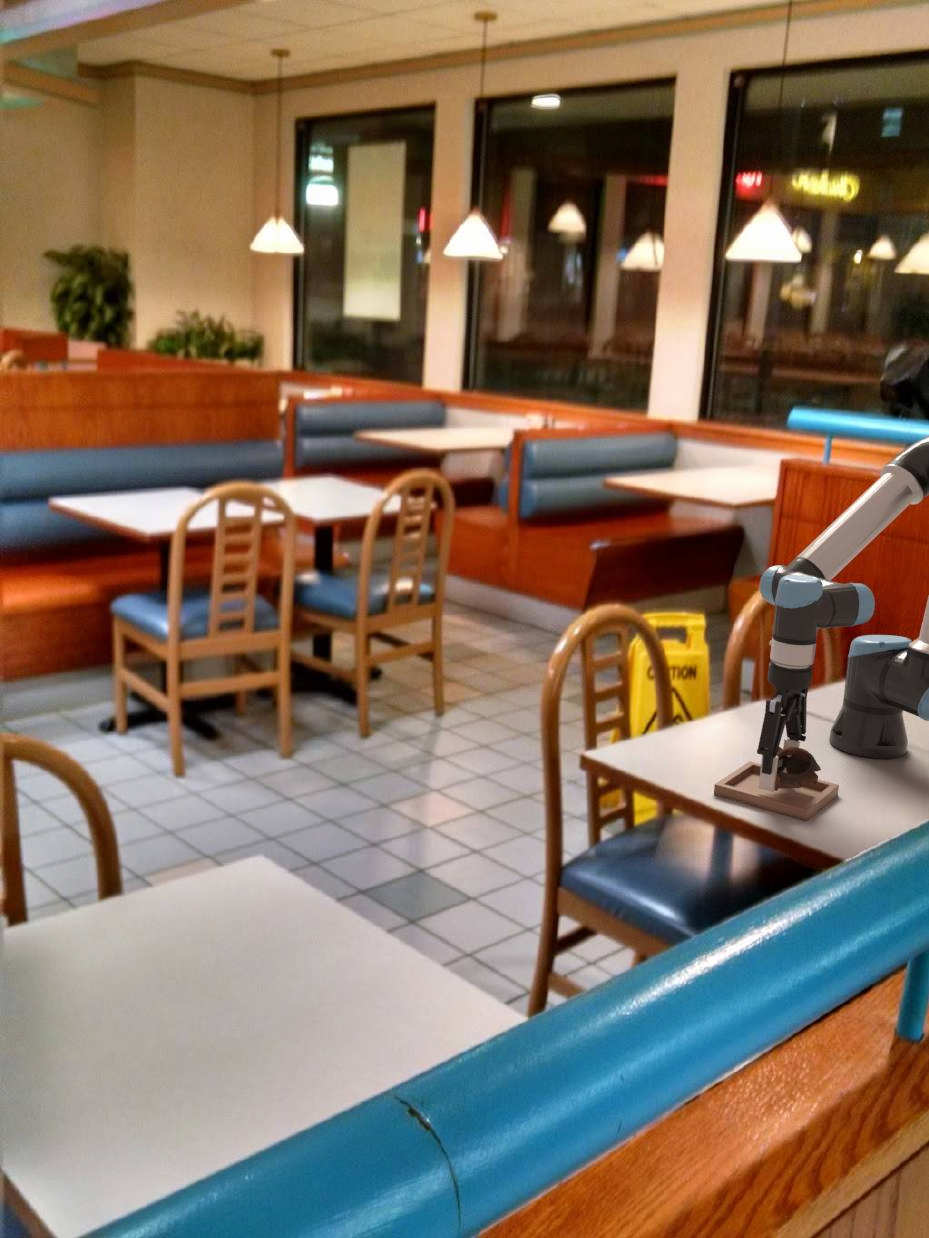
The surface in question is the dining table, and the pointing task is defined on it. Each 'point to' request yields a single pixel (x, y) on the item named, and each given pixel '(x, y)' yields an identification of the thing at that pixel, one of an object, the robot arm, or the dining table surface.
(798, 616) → the robot arm
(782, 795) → the serving tray
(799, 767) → the pottery mug
